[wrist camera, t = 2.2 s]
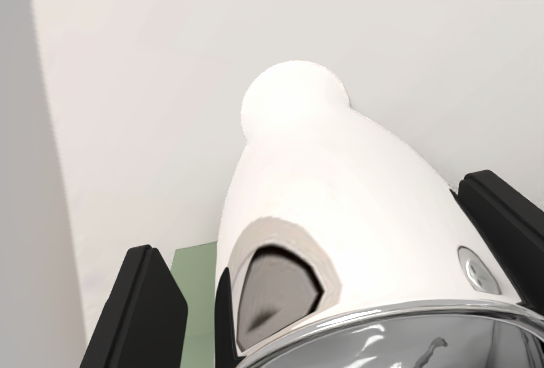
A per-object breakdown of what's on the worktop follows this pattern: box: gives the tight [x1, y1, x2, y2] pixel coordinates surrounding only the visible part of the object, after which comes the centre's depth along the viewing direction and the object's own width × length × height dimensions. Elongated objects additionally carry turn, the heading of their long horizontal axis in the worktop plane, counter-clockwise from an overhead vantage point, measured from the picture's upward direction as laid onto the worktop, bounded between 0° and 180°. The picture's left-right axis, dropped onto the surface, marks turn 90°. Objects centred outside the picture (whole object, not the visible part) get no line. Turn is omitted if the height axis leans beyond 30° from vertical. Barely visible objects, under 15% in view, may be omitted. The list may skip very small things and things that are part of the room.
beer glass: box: [213, 60, 544, 368], centre depth 12 cm, size 7×7×15 cm
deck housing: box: [170, 242, 217, 368], centre depth 23 cm, size 14×11×8 cm
